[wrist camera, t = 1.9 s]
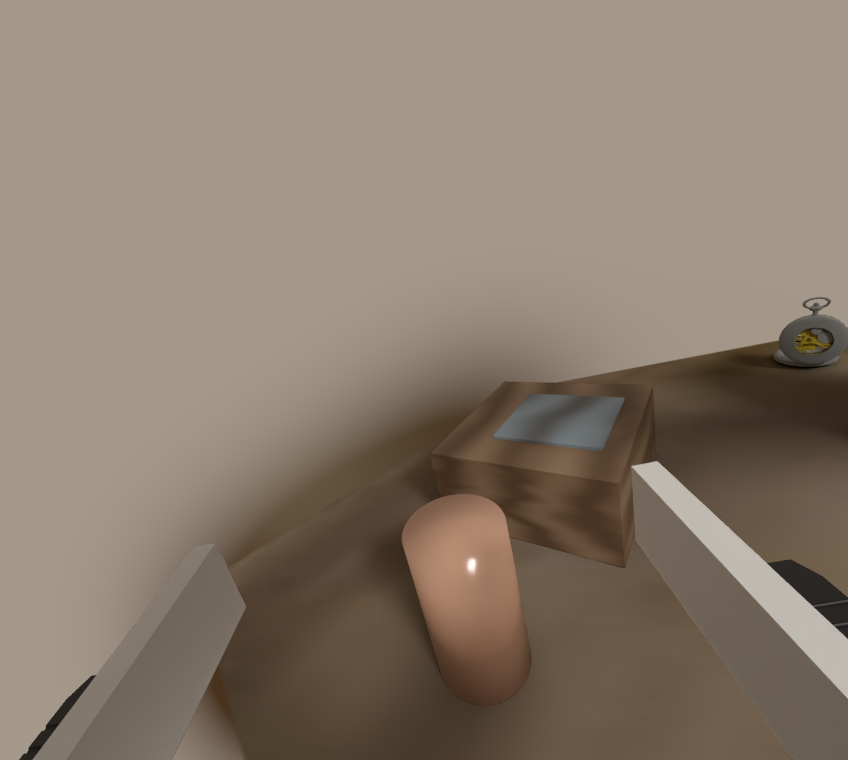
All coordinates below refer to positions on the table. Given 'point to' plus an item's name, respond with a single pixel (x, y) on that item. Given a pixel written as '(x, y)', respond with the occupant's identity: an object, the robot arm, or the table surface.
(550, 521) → the walnut box
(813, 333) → the pocket watch
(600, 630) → the table surface
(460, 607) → the terracotta cylinder
